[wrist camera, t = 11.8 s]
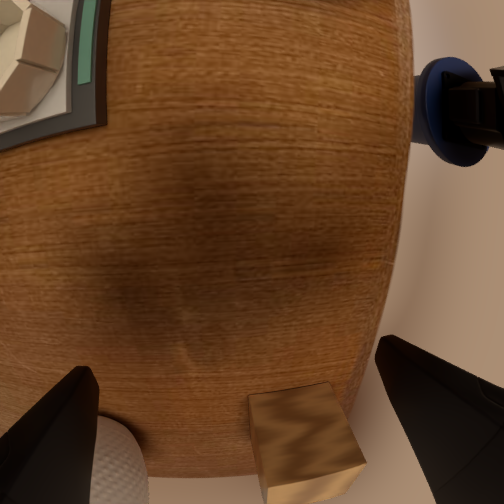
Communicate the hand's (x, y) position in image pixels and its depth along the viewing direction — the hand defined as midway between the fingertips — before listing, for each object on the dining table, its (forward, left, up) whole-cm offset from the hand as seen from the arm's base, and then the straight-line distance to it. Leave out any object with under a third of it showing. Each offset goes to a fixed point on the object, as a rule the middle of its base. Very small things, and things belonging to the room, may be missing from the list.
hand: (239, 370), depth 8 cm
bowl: (+11, -12, -9) cm, 19 cm away
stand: (-6, +20, -12) cm, 24 cm away
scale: (+11, -13, -12) cm, 21 cm away
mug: (+16, +22, -12) cm, 30 cm away
